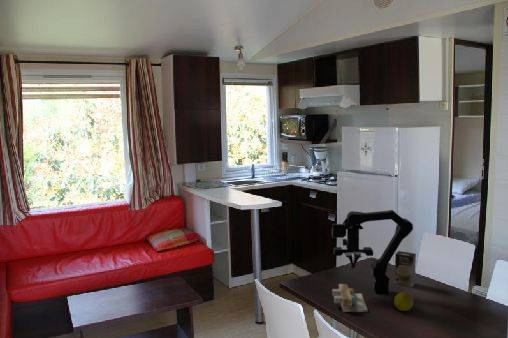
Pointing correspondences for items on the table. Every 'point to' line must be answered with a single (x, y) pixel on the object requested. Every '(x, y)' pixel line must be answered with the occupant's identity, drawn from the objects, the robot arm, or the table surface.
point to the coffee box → (405, 268)
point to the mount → (347, 301)
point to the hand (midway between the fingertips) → (353, 268)
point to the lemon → (403, 301)
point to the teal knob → (339, 299)
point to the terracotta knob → (337, 291)
